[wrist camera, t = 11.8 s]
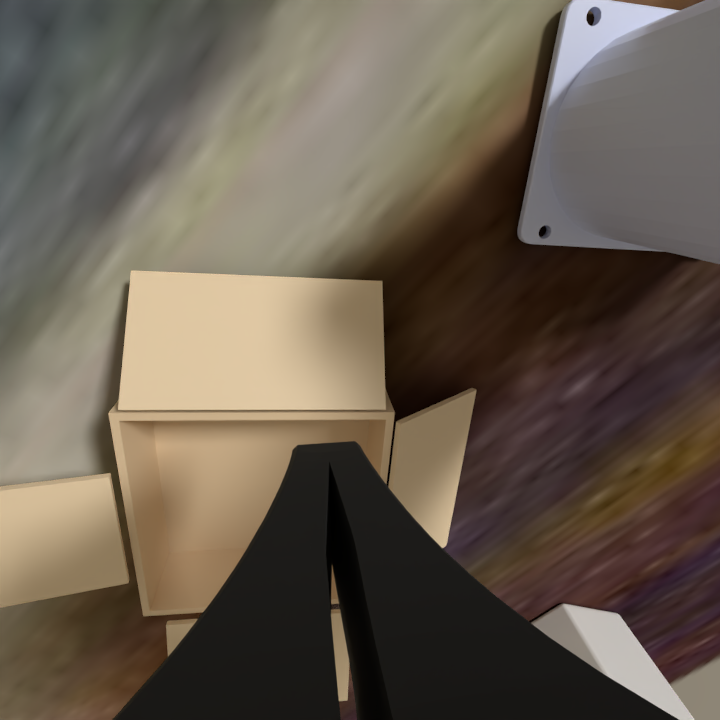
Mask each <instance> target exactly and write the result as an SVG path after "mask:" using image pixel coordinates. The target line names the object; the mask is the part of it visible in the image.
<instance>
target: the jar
mask: <svg viewBox="0 0 720 720" xmlns="http://www.w3.org/2000/svg"><path fill="white" fill-rule="evenodd" d="M531 624H533V625H534V626H535V627H537V628H538V629H539V630H541V631H542V632H543V633H544V634H546V635H547V636H549V637H550V638H551V639H553V640H554V641H556V642H557V643H559V644H560V645H562V646H563V647H564V648H566V649H567V650H569V651H570V652H572V653H573V654H575V655H576V656H578V657H579V658H581V659H582V660H584V661H585V662H587V663H588V664H589V665H591V666H592V667H594V668H595V669H597V670H598V671H600V672H602V673H603V674H605V675H606V676H608V677H609V678H611V679H613V680H614V681H616V682H618V683H619V684H621V685H623V686H624V687H626V688H628V689H629V690H631V691H633V692H634V693H636V694H637V695H639V696H641V697H642V698H644V699H646V700H647V701H649V702H651V703H652V704H654V705H656V706H657V707H659V708H661V709H662V710H664V711H666V712H667V713H669V714H670V715H672V716H674V717H675V718H677V719H679V720H695V719H694V718H693V717H692V715H691V714H690V712H689V711H688V710H687V708H686V707H685V705H684V704H683V703H682V701H681V700H680V698H679V697H678V696H677V694H676V693H675V692H674V690H673V689H672V687H671V686H670V685H669V683H668V682H667V680H666V679H665V678H664V676H663V675H662V673H661V672H660V671H659V669H658V668H657V666H656V665H655V664H654V662H653V661H652V660H651V658H650V657H649V655H648V654H647V653H646V651H645V650H644V648H643V647H642V646H641V644H640V643H639V641H638V640H637V639H636V637H635V636H634V634H633V633H632V632H631V630H630V629H629V628H628V626H627V625H626V623H625V622H624V621H623V619H622V618H621V616H620V615H619V614H617V613H614V612H608V611H603V610H597V609H592V608H586V607H581V606H575V605H570V604H564V603H562V604H560V605H558V606H556V607H555V608H553V609H552V610H550V611H548V612H547V613H545V614H544V615H542V616H540V617H539V618H537V619H536V620H534V621H532V622H531Z"/></svg>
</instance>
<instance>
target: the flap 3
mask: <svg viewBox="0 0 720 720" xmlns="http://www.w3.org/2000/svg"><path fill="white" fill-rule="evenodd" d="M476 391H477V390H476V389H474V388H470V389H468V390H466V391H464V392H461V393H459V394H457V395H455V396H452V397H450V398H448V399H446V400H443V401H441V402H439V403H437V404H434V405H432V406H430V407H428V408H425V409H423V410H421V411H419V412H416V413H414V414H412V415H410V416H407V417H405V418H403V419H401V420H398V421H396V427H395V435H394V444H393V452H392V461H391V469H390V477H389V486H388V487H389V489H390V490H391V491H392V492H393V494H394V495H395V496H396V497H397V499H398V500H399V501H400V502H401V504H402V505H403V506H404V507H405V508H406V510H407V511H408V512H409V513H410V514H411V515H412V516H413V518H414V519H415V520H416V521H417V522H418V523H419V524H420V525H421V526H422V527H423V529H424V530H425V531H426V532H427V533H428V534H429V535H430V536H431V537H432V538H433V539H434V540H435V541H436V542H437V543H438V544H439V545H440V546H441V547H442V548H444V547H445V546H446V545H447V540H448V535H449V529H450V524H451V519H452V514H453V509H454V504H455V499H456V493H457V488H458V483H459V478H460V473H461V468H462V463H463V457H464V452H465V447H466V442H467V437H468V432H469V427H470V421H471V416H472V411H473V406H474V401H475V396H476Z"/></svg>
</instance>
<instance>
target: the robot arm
mask: <svg viewBox="0 0 720 720" xmlns="http://www.w3.org/2000/svg"><path fill="white" fill-rule="evenodd" d="M588 11H591V12H592V13H593V15H594V22H593V24H592V26H590V25H588V23H587V21H586V17H587V13H588ZM544 225H545V227H546V233H545V235H543V236H542V237H540V236H539V230H540V228H541V227H542V226H544ZM517 235H518V238H519V239H520V240H521V241H522V242H525V243H528V244H537V245H555V246H573V247H591V248H608V249H626V250H644V251H661V252H669V253H674V254H678V255H682V256H687V257H691V258H695V259H700V260H704V261H708V262H713V263H717V264H720V0H705V1H703V2H700V3H698V4H695V5H693V6H690V7H688V8H685V9H683V10H680V11H679V10H672V9H665V8H659V7H652V6H645V5H638V4H631V3H624V2H618V1H611V0H572V1H571V2H569V3H567V5H566V6H565V7H564V9H563V11H562V14H561V17H560V22H559V27H558V32H557V36H556V41H555V46H554V51H553V56H552V61H551V66H550V71H549V76H548V81H547V86H546V91H545V96H544V101H543V106H542V110H541V115H540V120H539V125H538V130H537V135H536V140H535V145H534V150H533V155H532V160H531V165H530V170H529V175H528V180H527V184H526V189H525V194H524V199H523V204H522V209H521V214H520V219H519V224H518V229H517ZM332 567H333V573H334V578H335V584H336V590H337V595H338V601H339V607H340V612H341V618H342V624H343V629H344V635H345V640H346V646H347V652H348V657H349V663H350V668H351V674H352V681H353V688H354V695H355V702H356V713H357V720H679V719H677V718H675V717H674V716H672V715H670V714H669V713H667V712H666V711H664V710H662V709H661V708H659V707H657V706H656V705H654V704H652V703H651V702H649V701H647V700H646V699H644V698H642V697H641V696H639V695H637V694H636V693H634V692H633V691H631V690H629V689H628V688H626V687H624V686H623V685H621V684H619V683H618V682H616V681H614V680H613V679H611V678H609V677H608V676H606V675H605V674H603V673H602V672H600V671H598V670H597V669H595V668H594V667H592V666H591V665H589V664H588V663H587V662H585V661H584V660H582V659H581V658H579V657H578V656H576V655H575V654H573V653H572V652H570V651H569V650H567V649H566V648H564V647H563V646H562V645H560V644H559V643H557V642H556V641H554V640H553V639H551V638H550V637H549V636H547V635H546V634H544V633H543V632H542V631H541V630H539V629H538V628H537V627H535V626H534V625H533V624H531V623H530V622H529V621H527V620H526V619H525V618H524V617H522V616H521V615H520V614H518V613H517V612H516V611H514V610H513V609H512V608H510V607H509V606H508V605H507V604H505V603H504V602H503V601H501V600H500V599H499V598H497V597H496V596H495V595H494V594H493V593H491V592H490V591H489V590H488V589H487V588H486V587H484V586H483V585H482V584H481V583H480V582H479V581H477V580H476V579H475V578H474V577H473V576H472V575H470V574H469V573H468V572H467V571H466V570H465V569H464V568H463V567H462V566H461V565H460V564H458V563H457V562H456V561H455V560H454V559H453V558H452V557H451V556H450V555H449V554H448V553H447V552H446V551H445V550H444V549H443V548H442V547H441V546H440V545H439V544H438V543H437V542H436V541H435V540H434V539H433V538H432V537H431V536H430V535H429V534H428V533H427V532H426V531H425V530H424V529H423V527H422V526H421V525H420V524H419V523H418V522H417V521H416V520H415V519H414V518H413V516H412V515H411V514H410V513H409V512H408V511H407V510H406V508H405V507H404V506H403V505H402V504H401V502H400V501H399V500H398V499H397V497H396V496H395V495H394V494H393V492H392V491H391V490H390V489H389V487H388V486H387V485H386V484H385V482H384V481H383V480H382V478H381V477H380V475H379V474H378V473H377V471H376V470H375V468H374V467H373V465H372V464H371V463H370V461H369V460H368V458H367V456H366V455H365V453H364V452H363V450H362V448H361V446H360V445H359V444H358V443H357V442H356V441H348V442H334V443H319V444H304V445H297V446H296V447H295V448H294V449H293V450H292V455H291V459H290V462H289V465H288V468H287V471H286V473H285V476H284V478H283V480H282V483H281V485H280V488H279V490H278V492H277V494H276V496H275V498H274V500H273V502H272V504H271V506H270V508H269V510H268V512H267V514H266V516H265V518H264V520H263V522H262V523H261V525H260V527H259V528H258V530H257V532H256V534H255V535H254V537H253V539H252V541H251V542H250V544H249V546H248V548H247V549H246V551H245V553H244V554H243V556H242V557H241V559H240V560H239V562H238V564H237V565H236V567H235V568H234V570H233V571H232V573H231V574H230V576H229V577H228V579H227V580H226V582H225V583H224V584H223V586H222V587H221V589H220V590H219V592H218V593H217V594H216V596H215V597H214V599H213V600H212V601H211V603H210V604H209V605H208V607H207V608H206V609H205V611H204V612H203V613H202V614H201V616H200V617H199V618H198V620H197V621H196V622H195V624H194V625H193V626H192V628H191V629H190V630H189V631H188V633H187V634H186V635H185V637H184V638H183V639H182V640H181V642H180V643H179V644H178V645H177V647H176V648H175V649H174V650H173V651H172V653H171V654H170V655H169V656H168V657H167V659H166V660H165V661H164V662H163V663H162V664H161V666H160V667H159V668H158V669H157V670H156V671H155V672H154V674H153V675H152V676H151V677H150V678H149V679H148V680H147V681H146V683H145V684H144V685H143V686H142V687H141V688H140V689H139V690H138V692H137V693H136V694H135V695H134V696H133V697H132V698H131V699H130V701H129V702H128V703H127V704H126V705H125V706H124V707H123V708H122V710H121V711H120V712H119V713H118V714H117V715H116V716H115V717H114V719H113V720H341V719H340V708H339V698H338V687H337V676H336V665H335V654H334V643H333V632H332V621H331V589H332Z"/></svg>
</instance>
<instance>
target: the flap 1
mask: <svg viewBox="0 0 720 720" xmlns="http://www.w3.org/2000/svg"><path fill="white" fill-rule="evenodd" d="M127 583H129V573H128V567H127V562H126V556H125V551H124V545H123V540H122V534H121V528H120V523H119V517H118V512H117V506H116V501H115V495H114V490H113V484H112V479H111V473H108V474H99V475H91V476H83V477H75V478H66V479H58V480H50V481H42V482H33V483H25V484H17V485H8V486H0V608H2V607H7V606H12V605H17V604H23V603H28V602H33V601H38V600H44V599H49V598H54V597H59V596H65V595H70V594H75V593H80V592H85V591H91V590H96V589H101V588H106V587H112V586H117V585H122V584H127Z"/></svg>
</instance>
